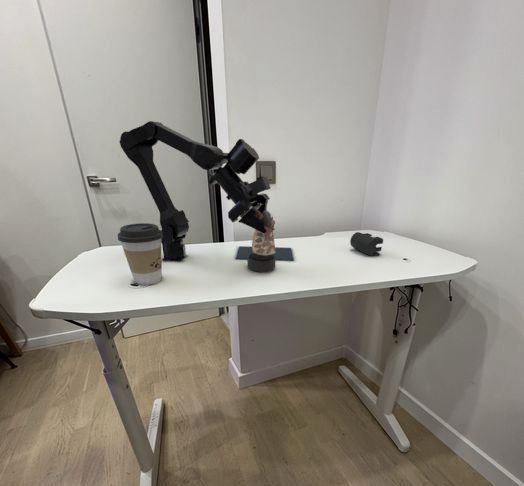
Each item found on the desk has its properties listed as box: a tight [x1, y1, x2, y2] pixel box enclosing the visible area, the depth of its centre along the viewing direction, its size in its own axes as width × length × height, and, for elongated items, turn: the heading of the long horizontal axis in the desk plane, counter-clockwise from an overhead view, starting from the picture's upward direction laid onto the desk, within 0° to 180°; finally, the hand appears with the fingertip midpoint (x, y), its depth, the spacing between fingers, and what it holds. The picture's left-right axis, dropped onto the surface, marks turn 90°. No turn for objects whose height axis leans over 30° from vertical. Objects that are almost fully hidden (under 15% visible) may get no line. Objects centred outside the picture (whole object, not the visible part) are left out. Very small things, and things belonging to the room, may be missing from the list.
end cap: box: [349, 231, 384, 257], centre depth 109 cm, size 10×7×7 cm
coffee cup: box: [117, 222, 163, 286], centre depth 79 cm, size 11×11×15 cm
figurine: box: [251, 209, 276, 255], centre depth 84 cm, size 7×7×12 cm
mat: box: [235, 245, 295, 262], centre depth 106 cm, size 20×14×1 cm
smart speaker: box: [247, 253, 277, 273], centre depth 92 cm, size 9×9×4 cm
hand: (268, 230), depth 84 cm, fingers closed on figurine, 6 cm apart
